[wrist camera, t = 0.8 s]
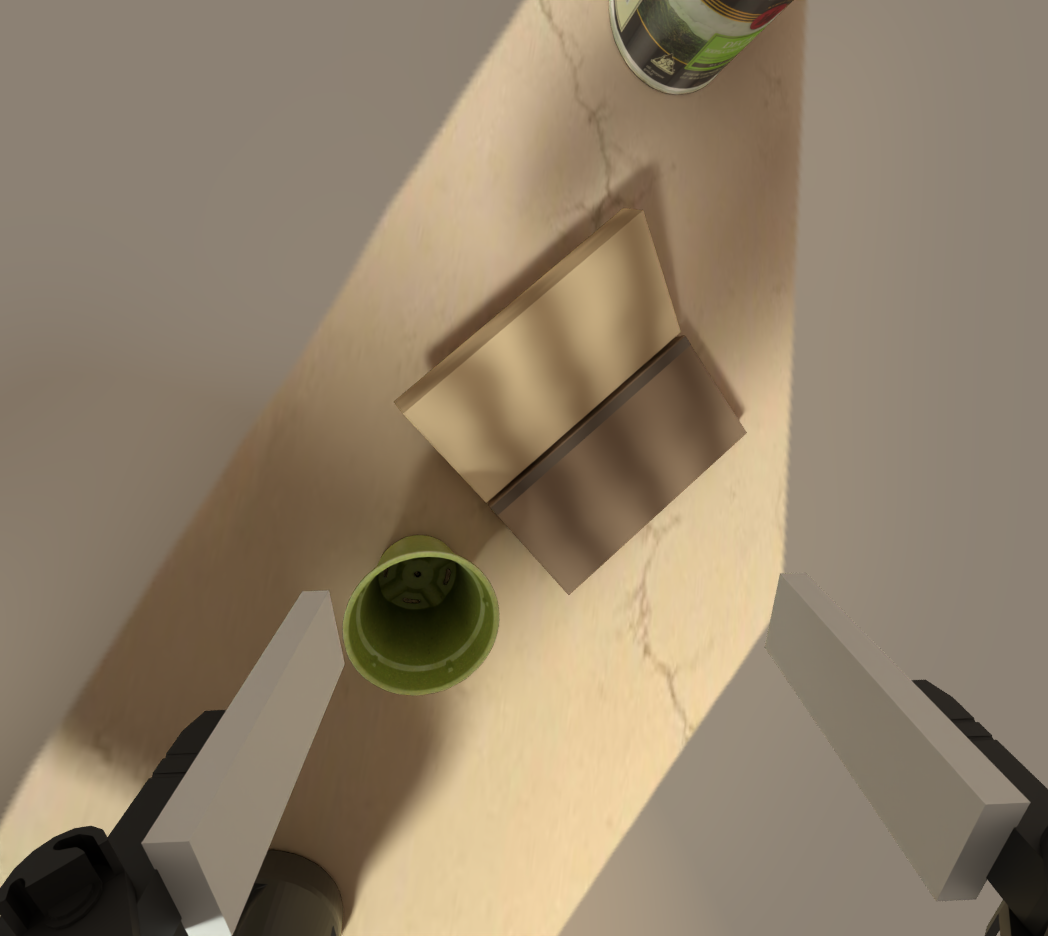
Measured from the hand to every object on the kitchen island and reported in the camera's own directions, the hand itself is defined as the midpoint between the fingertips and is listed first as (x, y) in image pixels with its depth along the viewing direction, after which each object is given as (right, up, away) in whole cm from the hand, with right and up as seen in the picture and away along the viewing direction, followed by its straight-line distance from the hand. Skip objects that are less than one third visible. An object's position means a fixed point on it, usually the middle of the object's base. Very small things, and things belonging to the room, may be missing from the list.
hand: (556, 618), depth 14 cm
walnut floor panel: (+7, +5, +26) cm, 27 cm away
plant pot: (-9, -4, +24) cm, 26 cm away
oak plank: (0, +12, +21) cm, 24 cm away
